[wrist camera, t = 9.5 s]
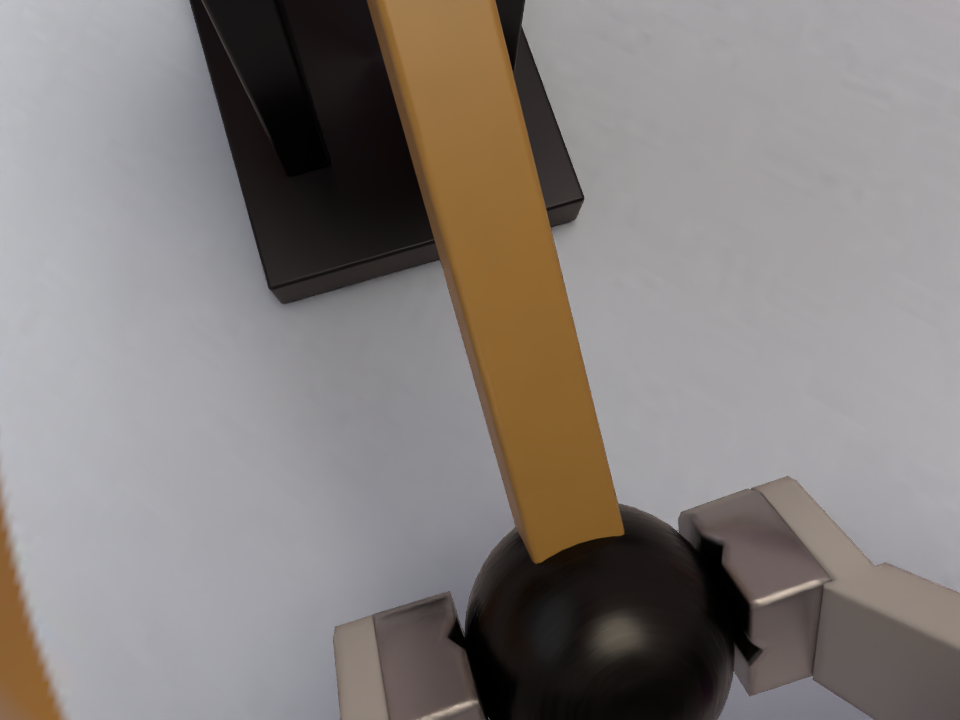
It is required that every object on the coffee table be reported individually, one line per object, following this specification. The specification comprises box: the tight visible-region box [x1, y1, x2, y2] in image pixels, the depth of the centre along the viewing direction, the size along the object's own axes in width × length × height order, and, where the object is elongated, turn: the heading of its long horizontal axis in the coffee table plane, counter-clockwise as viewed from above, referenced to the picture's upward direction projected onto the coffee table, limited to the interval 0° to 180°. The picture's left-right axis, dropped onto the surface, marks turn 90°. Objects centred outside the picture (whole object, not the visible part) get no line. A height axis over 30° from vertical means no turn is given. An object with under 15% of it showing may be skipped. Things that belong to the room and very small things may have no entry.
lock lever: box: [367, 0, 735, 720], centre depth 8 cm, size 16×3×3 cm, turn 18°
